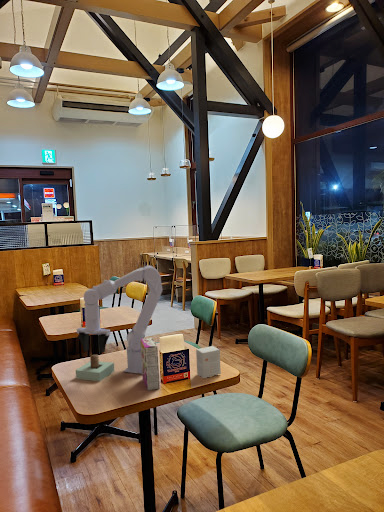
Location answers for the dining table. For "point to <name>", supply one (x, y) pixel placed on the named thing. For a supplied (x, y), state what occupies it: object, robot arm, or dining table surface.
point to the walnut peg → (94, 361)
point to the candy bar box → (149, 363)
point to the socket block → (95, 371)
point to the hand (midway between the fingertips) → (94, 351)
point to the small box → (208, 361)
